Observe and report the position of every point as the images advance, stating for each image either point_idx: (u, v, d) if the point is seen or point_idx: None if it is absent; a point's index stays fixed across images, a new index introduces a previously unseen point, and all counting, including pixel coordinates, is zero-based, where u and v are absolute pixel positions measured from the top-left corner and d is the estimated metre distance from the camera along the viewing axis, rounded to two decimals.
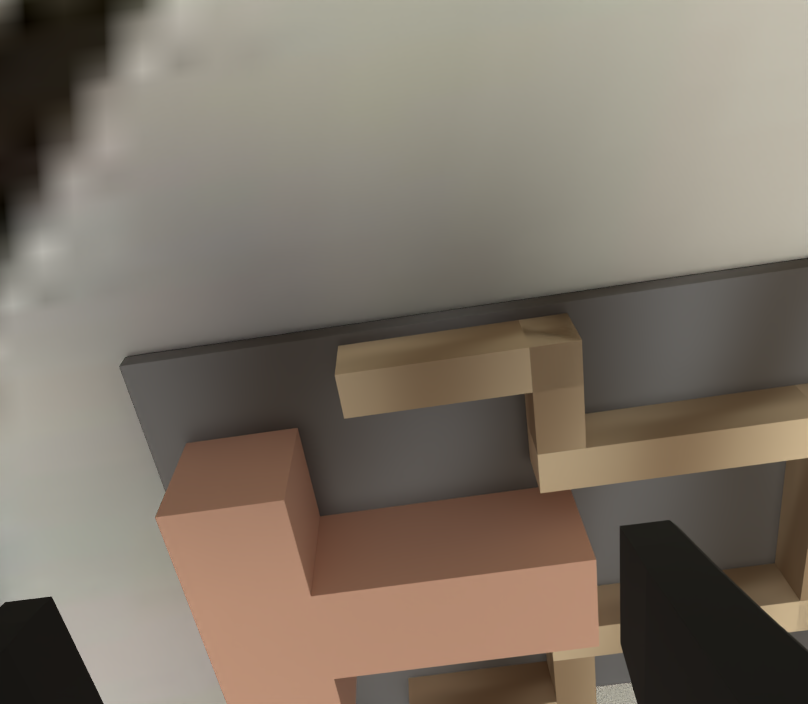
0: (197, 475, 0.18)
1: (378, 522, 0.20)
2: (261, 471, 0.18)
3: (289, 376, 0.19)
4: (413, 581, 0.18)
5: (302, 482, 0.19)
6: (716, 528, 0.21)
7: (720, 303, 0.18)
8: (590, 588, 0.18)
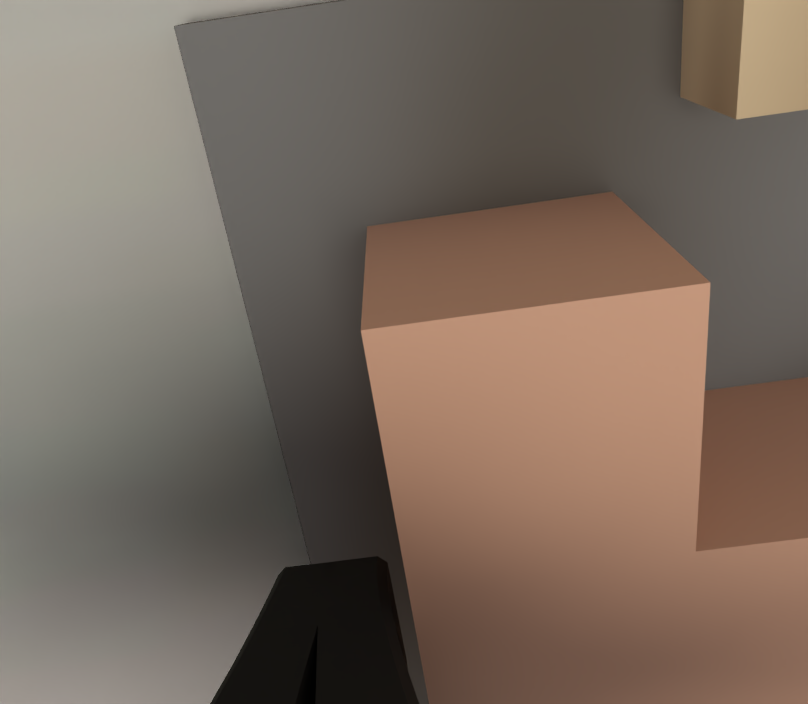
0: (427, 262, 0.08)
1: (754, 408, 0.10)
2: (590, 246, 0.07)
3: (558, 64, 0.08)
4: None
5: None
6: None
7: None
8: None
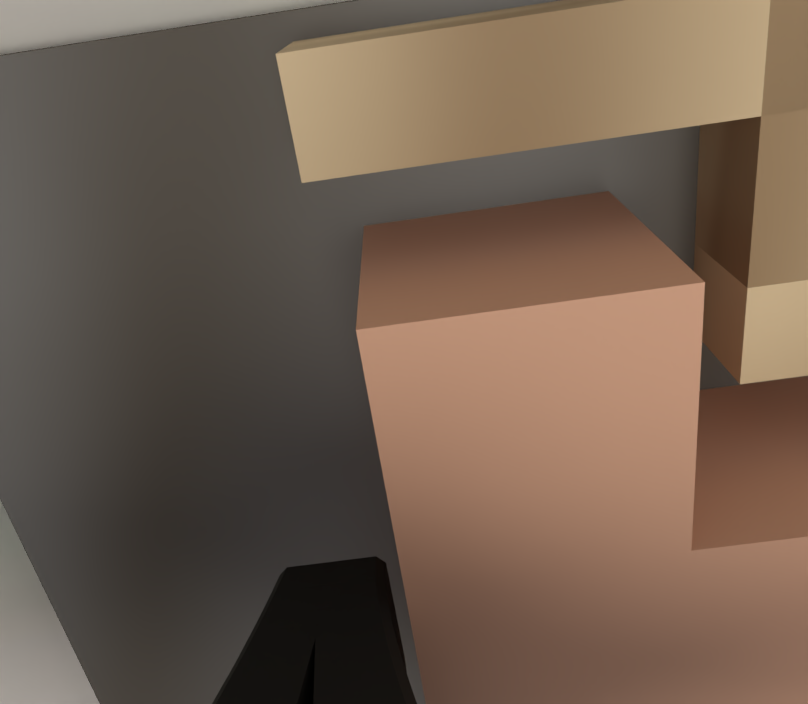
0: (423, 262, 0.08)
1: (750, 408, 0.10)
2: (585, 246, 0.07)
3: (186, 121, 0.08)
4: None
5: None
6: None
7: None
8: None
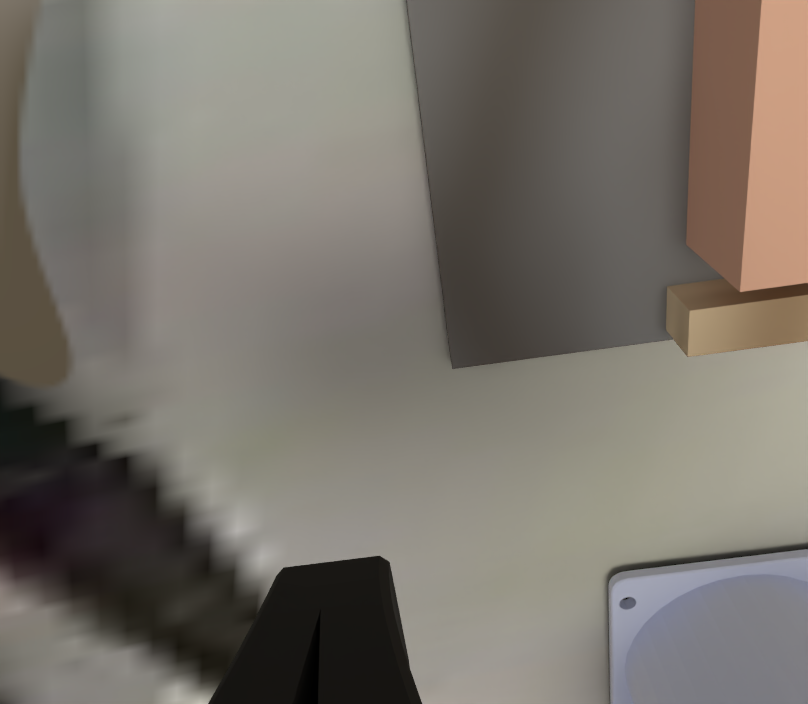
0: None
1: None
2: None
3: None
4: None
5: None
6: None
7: None
8: None
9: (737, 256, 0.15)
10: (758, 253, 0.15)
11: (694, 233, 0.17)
